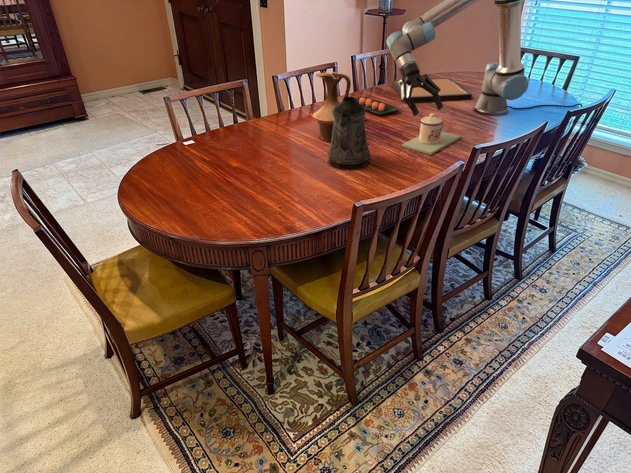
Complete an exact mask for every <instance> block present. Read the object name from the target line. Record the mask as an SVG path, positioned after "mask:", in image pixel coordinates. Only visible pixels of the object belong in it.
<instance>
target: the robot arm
mask: <svg viewBox="0 0 631 473" xmlns="http://www.w3.org/2000/svg"><path fill="white" fill-rule="evenodd" d="M478 1H479V0H443V1H442V2H440V3H438V4H437V5H435V6H434V7H432V8H431V9H429V10H428V11H426V12H425V13H423V14H422V15H420V16H419V17H417V18H415V19H413V20H409V21H407V22H406V23H405V24H404V25H403V26H402V31H399V30H398V31H394V32H392V33H391V34H390V35H389V36H388V37H387V39H386V45H387V48H388V50H389V53H390V54H391V57H392V58H393V60H394V62H395V65H396V67H397V69H398V71H399V72H400V75H401V77H402V78H401V79H400V80H399V81H400V82H399V83H400V86H401V96H400V102H401V103H404V104H406V105H407V107H408V108H409V109H410V111H411V112H412V115H413V117H416V116H418V115H419V114H420V111H419V109H418V107H417V105H416V103H414V101H413V99H411V95H412V90H413V88H416V87H420V88H423V89H424V90H426V91H427V92H429V93H430V94H432V95H433V96H432V98H433V100H434V102H433V103H434V104H435V107H436V108H437V111H440V110H441V109H442V108H444V105H443V101H441V98H440V96H439V94H438V92H440V91H441V89H440V88H439V87H438V86H437V85H436V84H435V83H434V82H433V81H432V80H431V79H432V78H430V77H429V75H428V74H427V73H425V72H424V74H423V75H422V74H421V71H420V68H419V65H418V63H416V62H417V61H416V59H415V57H414V55H413V53H412V52H413V51H415V50H417V49H419V48H421V47H423V46H425V45H426V44H429V43H431V42H432V41H434V40H435V39H436V37H437V34H436V29H435V28H437V27H439V26H440V25H442V24H443V23H445V22H446V21H448V20H450V19H451V18H452V17H455V16H456V15H457V14H459V13H460V12H462V11H464V10H465V9H467V8H468V7H470V6H472V5H473V4H474V3H476V2H478ZM523 1H524V0H494V5H495V6H496V7H497V8H498V56H499V57H498V60H499V61H496V62H489V63H487V64H486V66H485V70H484V74H483V75H484V76H483V82H482V87H481V93H480V96H479V97H478V100H477V102H476V103H475V105H474V111H475V113H478V114H481V115H484V116H493V117H494V116H495V117H496V116H503V115H506V114H507V112H508V108H509V109H512V110H530V109H534V108H539V107H540V108H541V107H558V108H574V107H577V106H580V107H584V105H583V104H582V103H576V104H573V105H564V104H537V105H533V106H526V107H513V106H511V105H508V101H515V100H518V99H519V98H521V97H522V96H523V95H524V94H525V93H526V92H527V90H528V88H529V79H528V77H527V76H526V75H525V64H524V63H523V62H521V50H522V48H521V47H522V45H521V44H522V42H521V41H522V3H523ZM406 84H408V88H407V89H408V90H407V92H406ZM410 99H411V100H410Z"/></svg>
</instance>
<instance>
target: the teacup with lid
mask: <svg viewBox="0 0 631 473" xmlns="http://www.w3.org/2000/svg"><path fill="white" fill-rule="evenodd" d="M419 122H420V126H419V134H418V136H419V141H420V142H421V143H424V144H437V143H438V142H439V141H440V135H441V131H442V132H443V130H444V128H445V123H444V121H443V118H441V117H438V116H436V114H435V113H432V112H431V113H430V114H429V115H427V116H424V117H421V119H420V120H419Z"/></svg>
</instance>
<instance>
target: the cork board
mask: <svg viewBox="0 0 631 473" xmlns="http://www.w3.org/2000/svg"><path fill="white" fill-rule="evenodd" d="M430 79H431V80H432V81H433V82H434V83H435V84H436V85H437V86H438V87H439V88H440V89H441V91H440V92H438V94H439V96H440V98H441V102H449V101H450V102H453V101H469V100H470V101H471V100H472V99H473V94H472V93H471V92H470V91H469V90H467V89H465V88H464V87H463V86H462V85H460V84H459V83H457V82H456V81H454V80H453V79H452V78H451V77H441V78H430ZM399 82H400V80H392V81H391V86H392V88H393V89H394V90H395V91H396V92H397V94H398V95H399V96H400V97H401V86H400V83H399ZM407 88H408V84H406V92H407V90H408V89H407ZM432 96H433V95H432V94H430V93H429V92H427V91H426V90H424V89H423V88H420V87H416V88H413V90H412V95H411V99H413V101H414V103H415V104H416V103H435V102H434V100H433V98H432ZM411 99H410V100H411Z"/></svg>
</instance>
